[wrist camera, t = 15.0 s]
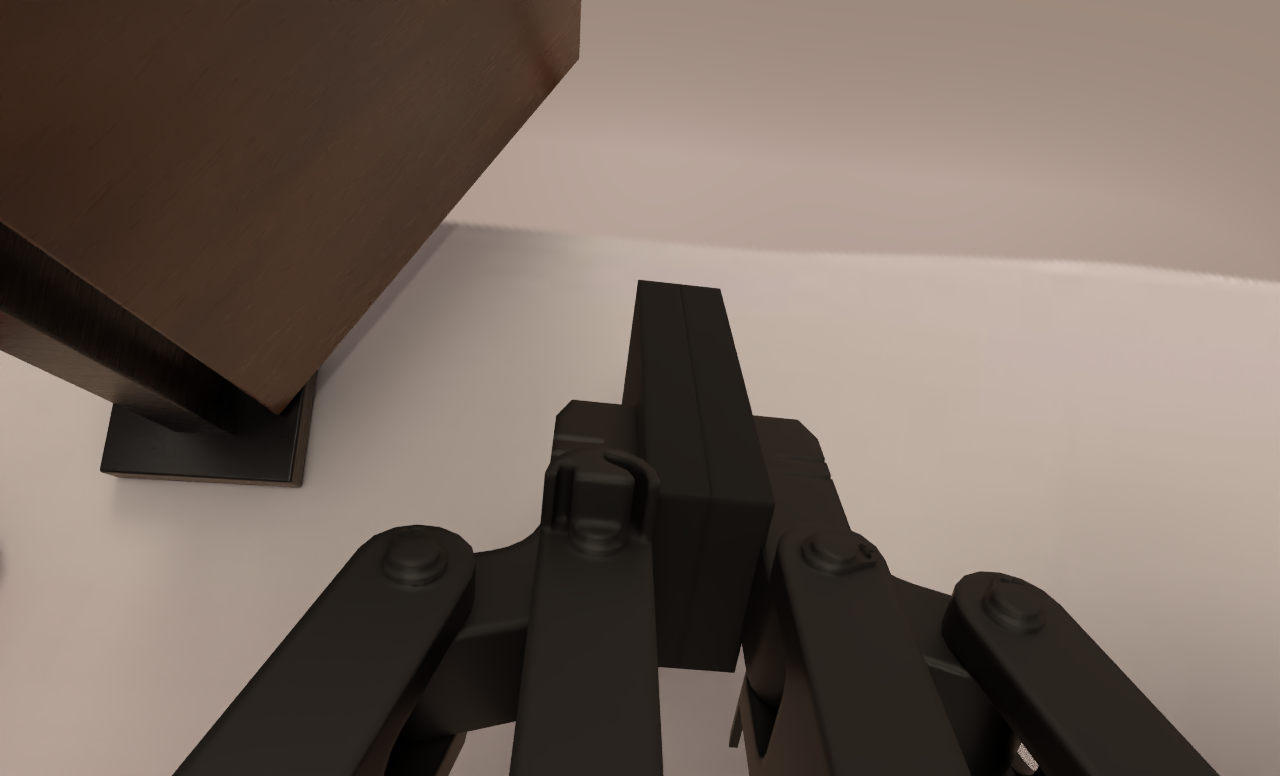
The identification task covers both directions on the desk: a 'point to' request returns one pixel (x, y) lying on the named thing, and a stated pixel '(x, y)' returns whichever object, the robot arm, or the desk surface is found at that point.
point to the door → (259, 153)
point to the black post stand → (145, 382)
